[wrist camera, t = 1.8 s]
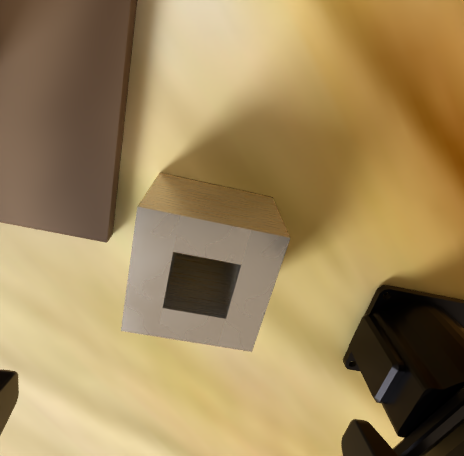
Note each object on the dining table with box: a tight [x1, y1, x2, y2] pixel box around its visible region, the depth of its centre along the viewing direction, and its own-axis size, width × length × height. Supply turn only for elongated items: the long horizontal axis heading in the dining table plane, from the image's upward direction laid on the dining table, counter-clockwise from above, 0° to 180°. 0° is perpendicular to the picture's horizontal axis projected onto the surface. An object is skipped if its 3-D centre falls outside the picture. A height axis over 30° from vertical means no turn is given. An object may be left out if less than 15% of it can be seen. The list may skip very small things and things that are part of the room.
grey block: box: [121, 173, 290, 352], centre depth 16 cm, size 6×6×5 cm
